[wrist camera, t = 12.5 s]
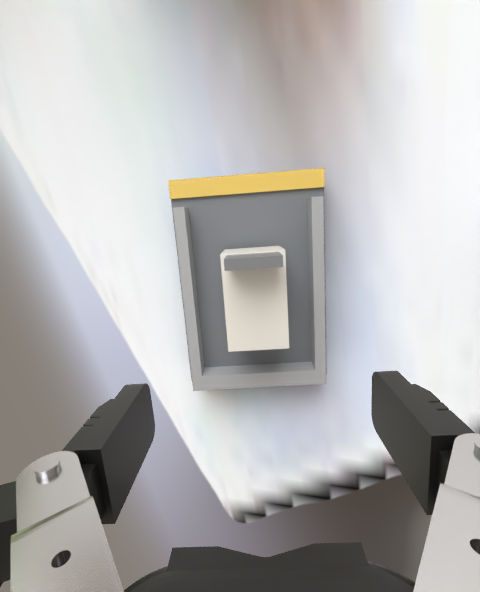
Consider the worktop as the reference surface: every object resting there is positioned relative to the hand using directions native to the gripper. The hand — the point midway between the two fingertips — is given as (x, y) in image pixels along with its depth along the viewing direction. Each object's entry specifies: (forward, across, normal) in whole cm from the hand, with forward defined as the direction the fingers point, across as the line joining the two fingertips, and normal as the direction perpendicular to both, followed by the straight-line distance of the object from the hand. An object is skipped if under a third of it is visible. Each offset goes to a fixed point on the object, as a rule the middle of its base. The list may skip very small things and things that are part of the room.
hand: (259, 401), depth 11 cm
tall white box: (+20, 0, 0) cm, 20 cm away
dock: (+23, 0, -1) cm, 23 cm away
